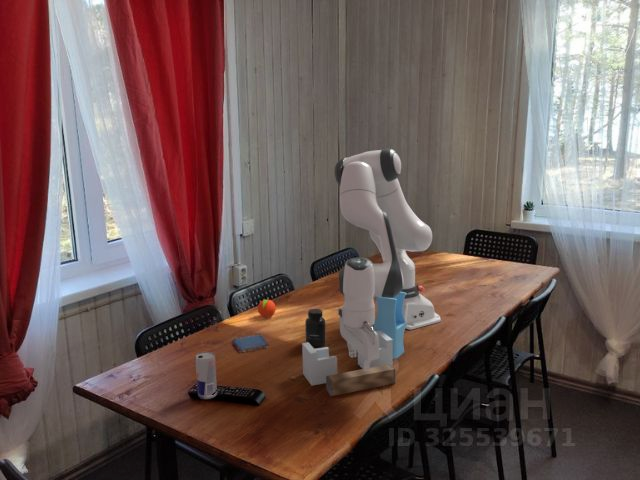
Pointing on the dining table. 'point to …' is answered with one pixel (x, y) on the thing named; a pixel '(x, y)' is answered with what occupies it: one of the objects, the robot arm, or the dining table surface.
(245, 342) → the woven mat
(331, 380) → the rail
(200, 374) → the energy drink
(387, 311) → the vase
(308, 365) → the post
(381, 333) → the post
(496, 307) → the dining table surface
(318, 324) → the supplement bottle
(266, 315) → the clementine
